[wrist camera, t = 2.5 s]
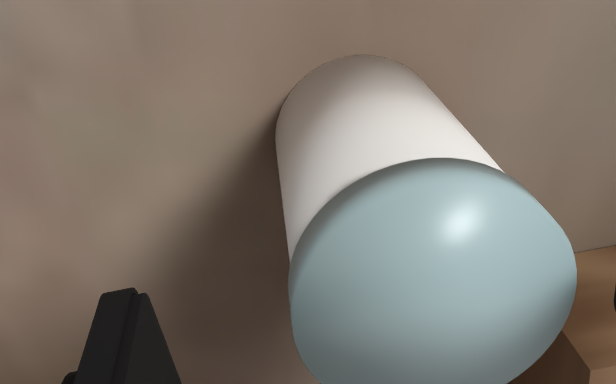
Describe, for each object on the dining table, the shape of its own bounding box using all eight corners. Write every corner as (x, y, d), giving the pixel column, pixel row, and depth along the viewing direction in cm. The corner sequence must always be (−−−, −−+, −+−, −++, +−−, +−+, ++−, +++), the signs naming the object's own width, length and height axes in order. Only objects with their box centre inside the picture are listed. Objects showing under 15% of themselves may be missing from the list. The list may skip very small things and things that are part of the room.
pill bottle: (438, 35, 16) (588, 157, 9) (445, 194, 19) (567, 384, 12) (255, 69, 16) (266, 218, 9) (288, 224, 18) (315, 433, 12)
